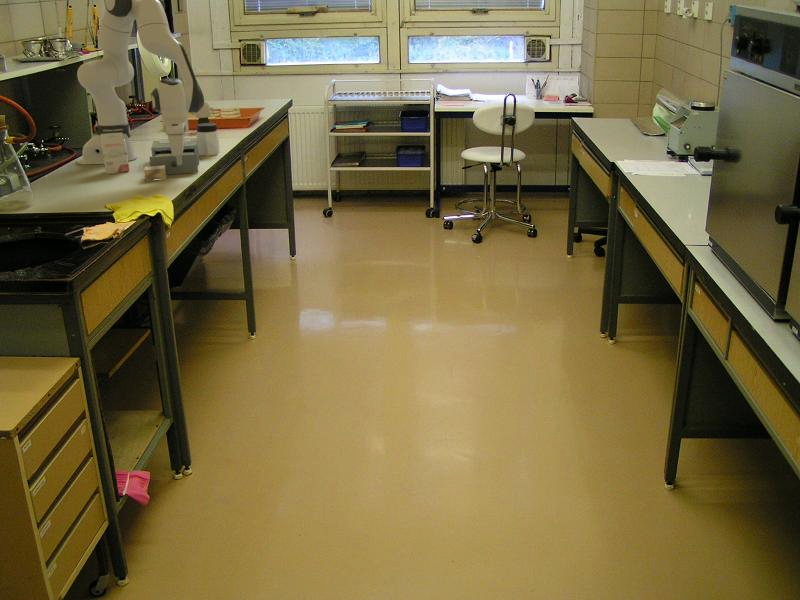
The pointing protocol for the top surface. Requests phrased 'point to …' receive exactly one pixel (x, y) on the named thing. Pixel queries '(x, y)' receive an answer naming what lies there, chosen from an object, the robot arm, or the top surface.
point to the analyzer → (164, 148)
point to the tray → (171, 163)
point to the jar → (208, 139)
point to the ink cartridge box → (114, 153)
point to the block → (155, 172)
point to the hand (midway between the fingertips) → (179, 164)
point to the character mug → (204, 113)
